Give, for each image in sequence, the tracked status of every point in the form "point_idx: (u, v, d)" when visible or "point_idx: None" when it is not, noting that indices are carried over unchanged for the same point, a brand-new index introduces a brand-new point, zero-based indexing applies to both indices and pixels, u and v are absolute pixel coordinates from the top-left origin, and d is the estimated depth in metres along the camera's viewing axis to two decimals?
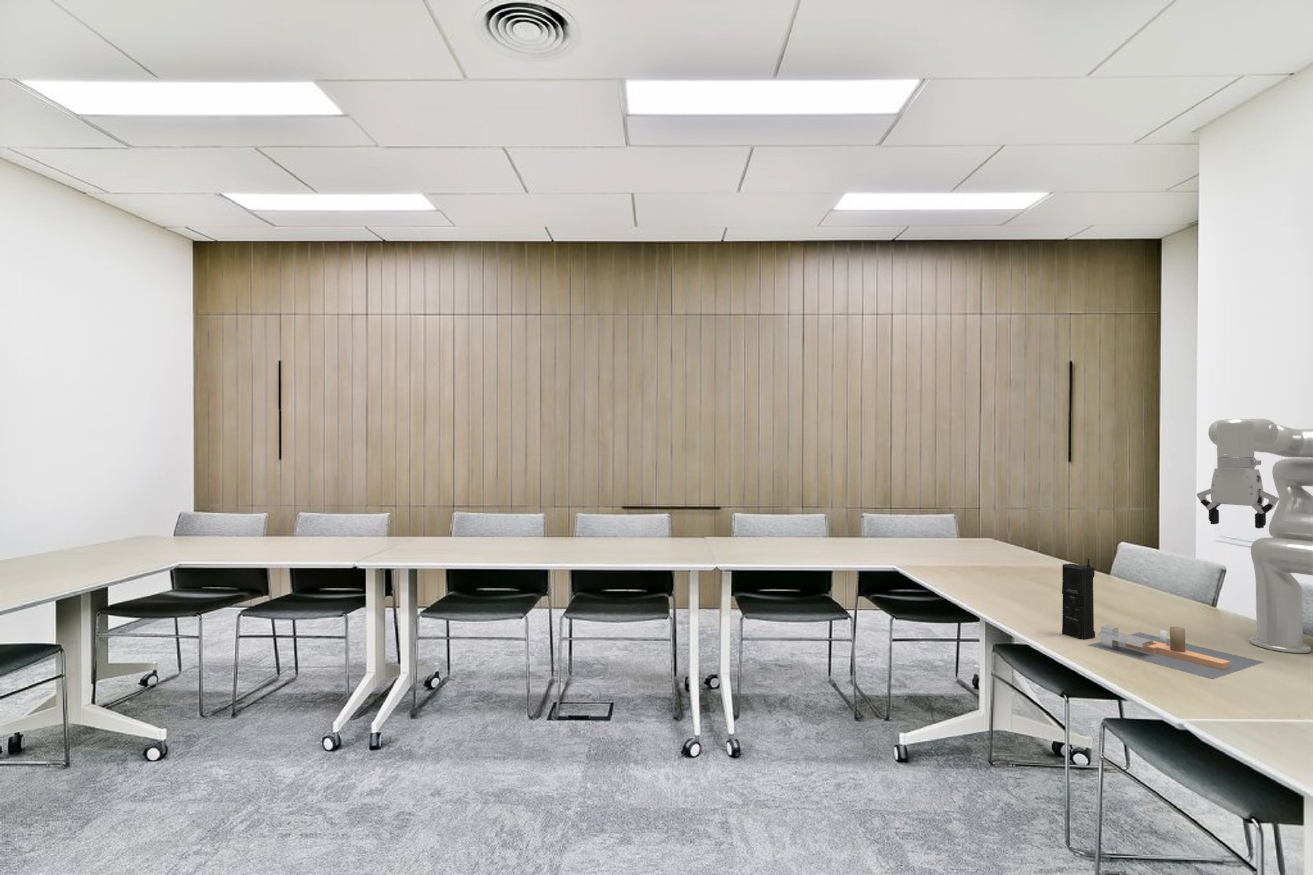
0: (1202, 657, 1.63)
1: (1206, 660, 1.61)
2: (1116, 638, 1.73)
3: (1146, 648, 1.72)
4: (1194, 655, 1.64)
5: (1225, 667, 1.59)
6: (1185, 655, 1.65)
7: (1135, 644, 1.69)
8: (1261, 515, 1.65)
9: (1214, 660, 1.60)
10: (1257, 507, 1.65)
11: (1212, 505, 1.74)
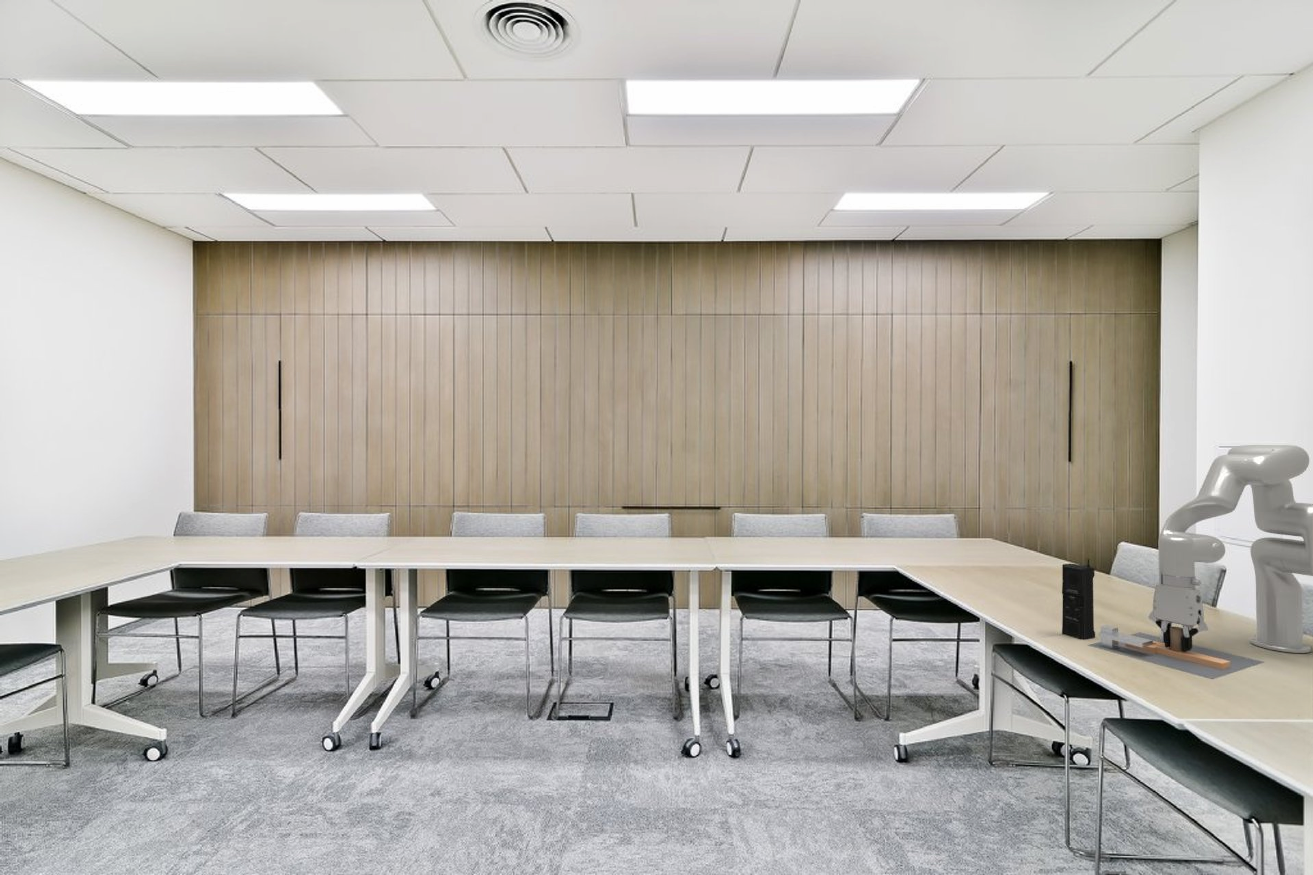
0: (1202, 657, 1.63)
1: (1206, 660, 1.61)
2: (1116, 638, 1.73)
3: (1146, 648, 1.72)
4: (1194, 655, 1.64)
5: (1225, 667, 1.59)
6: (1185, 655, 1.65)
7: (1135, 644, 1.69)
8: (1187, 639, 1.66)
9: (1214, 660, 1.60)
10: (1186, 630, 1.65)
11: (1164, 626, 1.70)
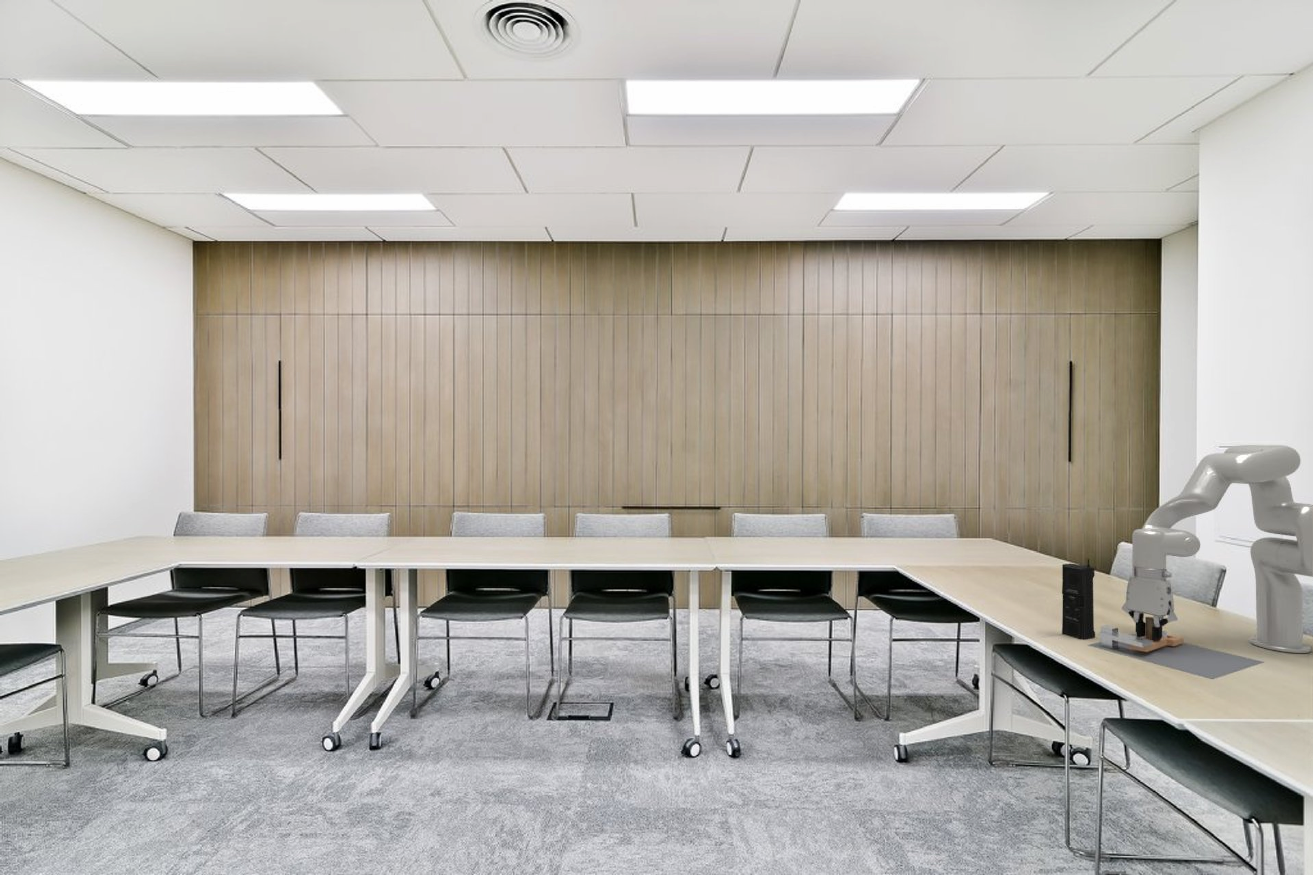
0: None
1: None
2: (1116, 638, 1.73)
3: None
4: None
5: (1135, 648, 1.71)
6: None
7: (1135, 644, 1.69)
8: (1157, 628, 1.72)
9: None
10: (1157, 620, 1.72)
11: (1136, 616, 1.77)
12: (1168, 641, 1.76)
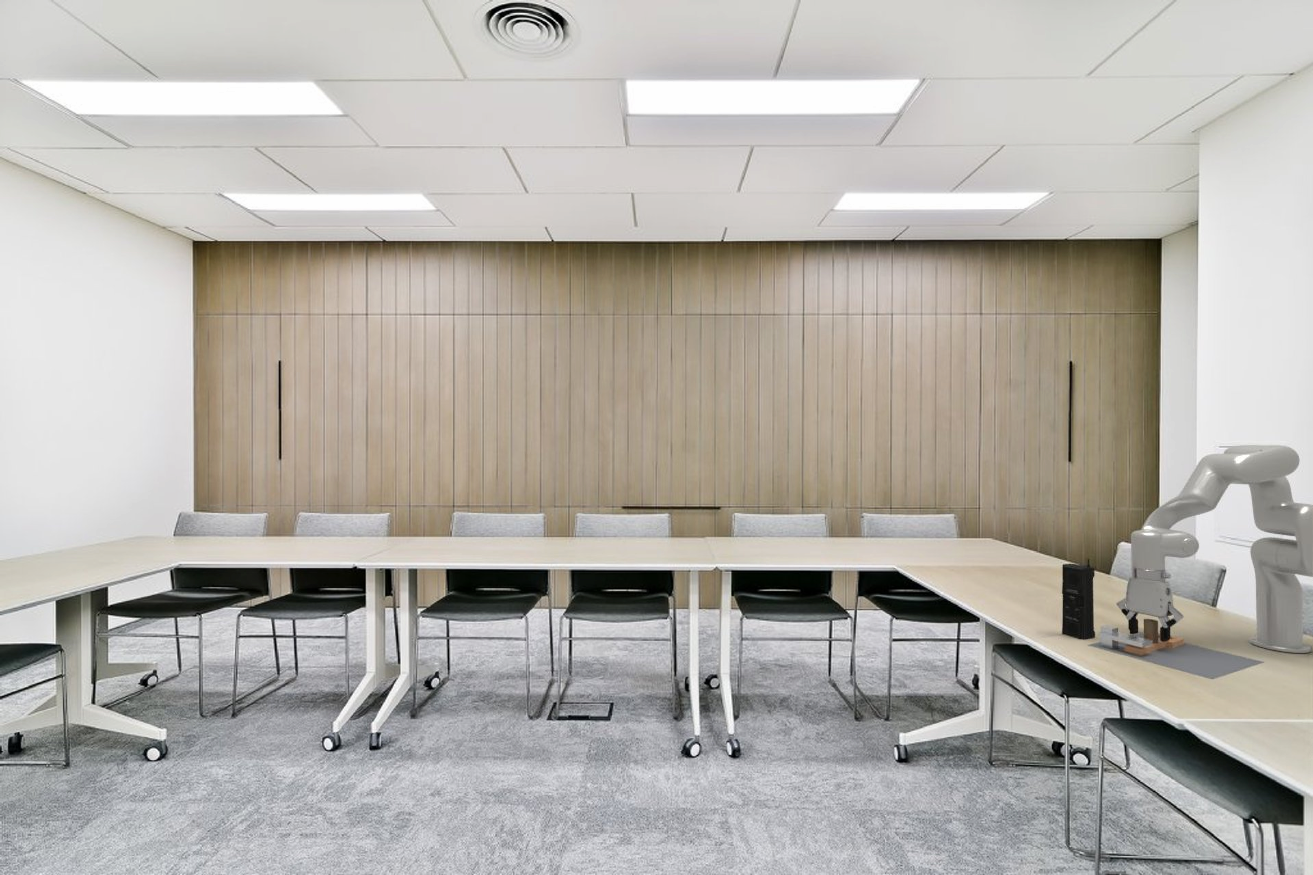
0: None
1: (1130, 644, 1.74)
2: (1116, 638, 1.73)
3: None
4: None
5: (1130, 651, 1.71)
6: None
7: (1135, 644, 1.69)
8: (1166, 629, 1.71)
9: (1132, 645, 1.73)
10: (1163, 621, 1.72)
11: (1130, 615, 1.79)
12: (1167, 643, 1.76)
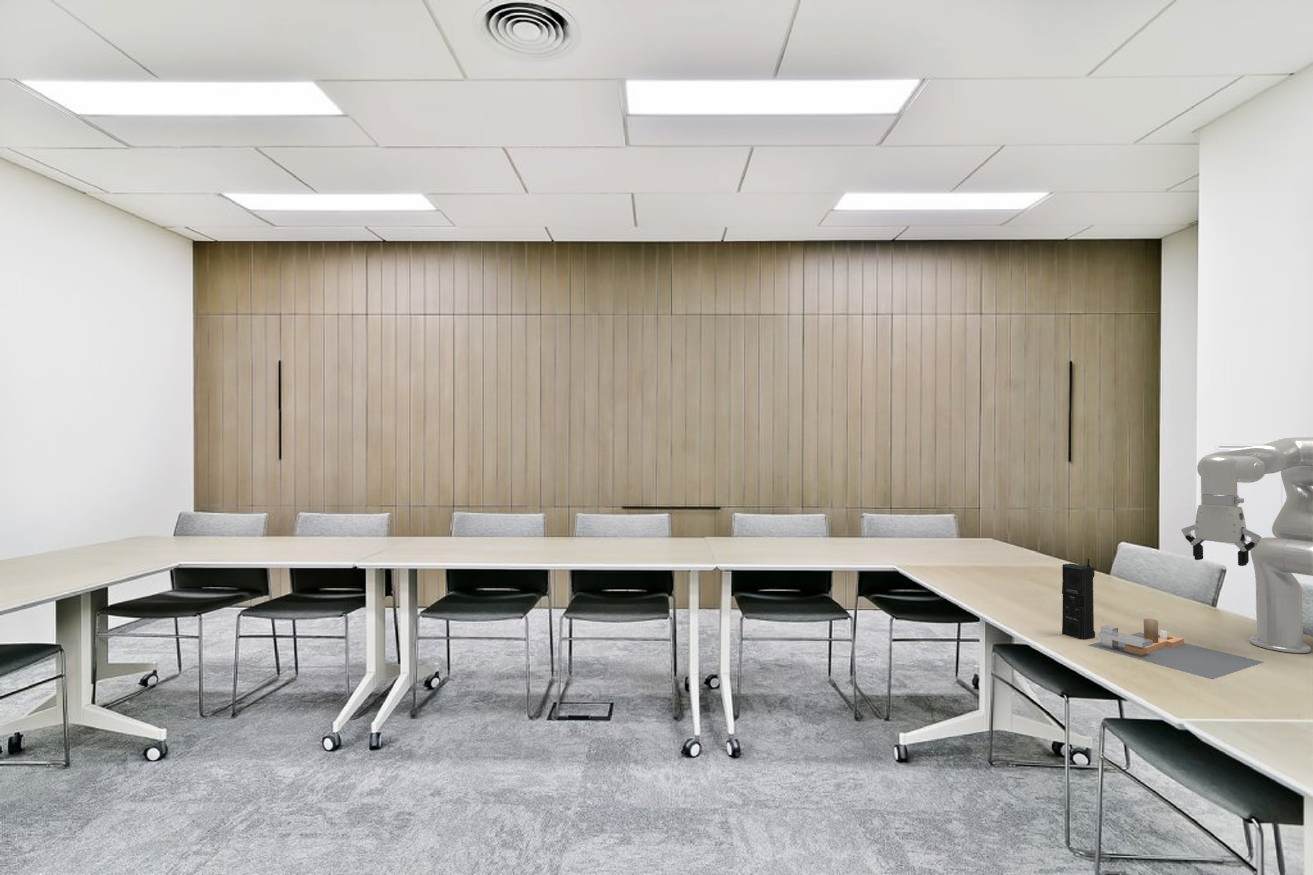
0: None
1: (1130, 644, 1.74)
2: (1116, 638, 1.73)
3: None
4: None
5: (1130, 651, 1.71)
6: None
7: (1135, 644, 1.69)
8: (1244, 553, 1.67)
9: (1132, 645, 1.73)
10: (1240, 545, 1.67)
11: (1196, 541, 1.76)
12: (1167, 643, 1.76)
